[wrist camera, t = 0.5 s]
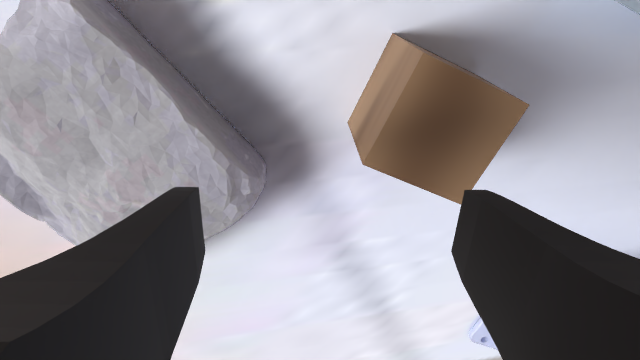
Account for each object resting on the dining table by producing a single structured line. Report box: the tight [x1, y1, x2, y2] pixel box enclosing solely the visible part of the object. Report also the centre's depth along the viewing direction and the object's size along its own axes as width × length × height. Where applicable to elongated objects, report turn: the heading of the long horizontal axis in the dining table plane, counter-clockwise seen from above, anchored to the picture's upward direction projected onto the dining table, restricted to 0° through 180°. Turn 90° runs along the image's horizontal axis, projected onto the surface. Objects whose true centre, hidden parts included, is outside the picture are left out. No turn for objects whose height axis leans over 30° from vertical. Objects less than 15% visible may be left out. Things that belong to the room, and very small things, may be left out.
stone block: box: [0, 0, 266, 246], centre depth 19 cm, size 12×5×10 cm
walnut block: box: [348, 33, 529, 204], centre depth 18 cm, size 4×4×5 cm
